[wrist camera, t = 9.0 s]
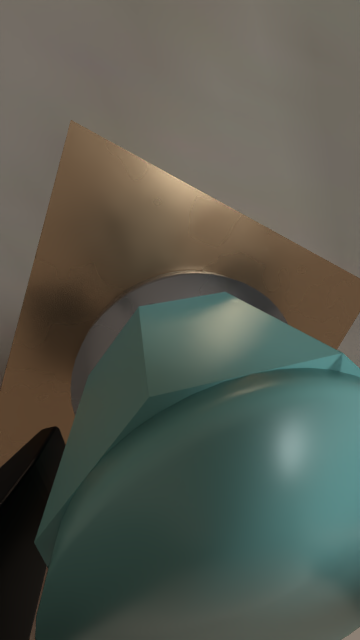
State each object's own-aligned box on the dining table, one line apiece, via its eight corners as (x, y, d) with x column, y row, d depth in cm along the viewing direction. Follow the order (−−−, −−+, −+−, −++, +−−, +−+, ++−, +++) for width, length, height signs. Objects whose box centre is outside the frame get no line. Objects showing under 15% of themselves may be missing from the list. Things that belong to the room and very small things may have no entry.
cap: (276, 436, 10) (411, 615, 5) (119, 479, 9) (105, 751, 4) (281, 282, 7) (526, 347, 3) (71, 317, 7) (-79, 503, 2)
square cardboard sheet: (353, 282, 10) (531, 315, 6) (236, 481, 13) (294, 613, 8) (78, 136, 7) (-30, -85, 2) (-6, 448, 10) (-138, 646, 5)
